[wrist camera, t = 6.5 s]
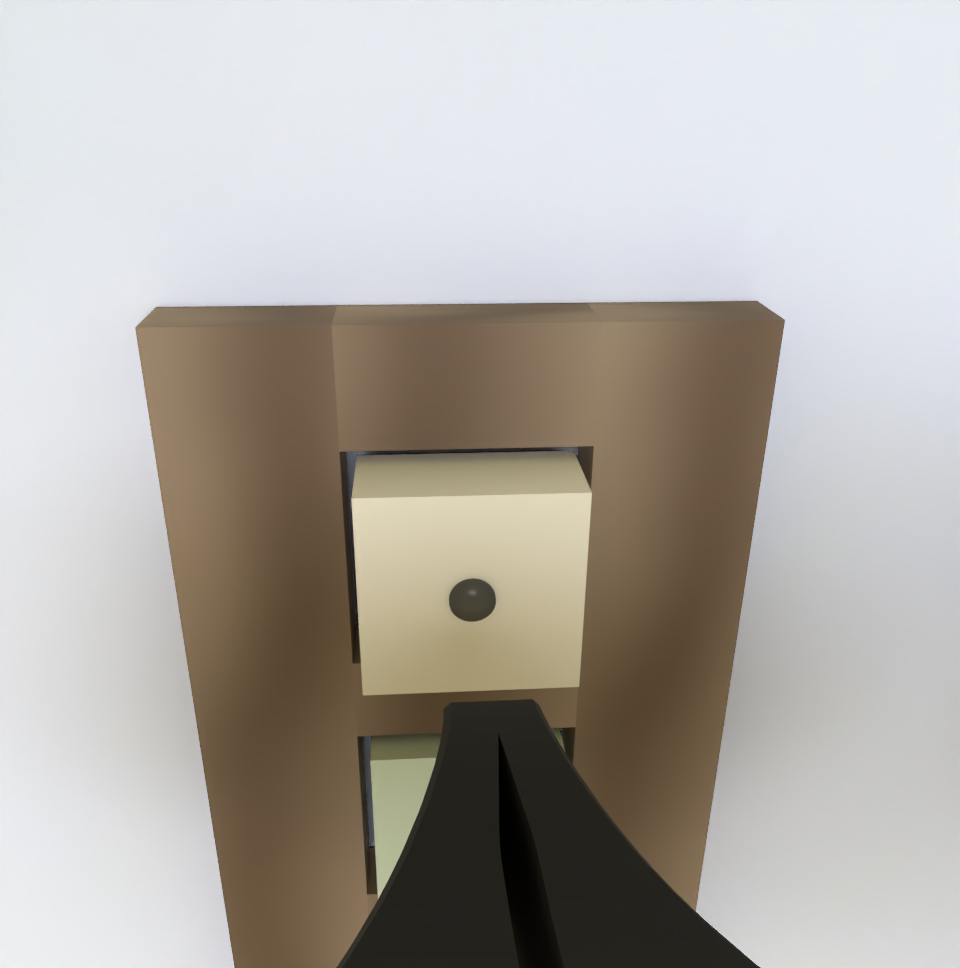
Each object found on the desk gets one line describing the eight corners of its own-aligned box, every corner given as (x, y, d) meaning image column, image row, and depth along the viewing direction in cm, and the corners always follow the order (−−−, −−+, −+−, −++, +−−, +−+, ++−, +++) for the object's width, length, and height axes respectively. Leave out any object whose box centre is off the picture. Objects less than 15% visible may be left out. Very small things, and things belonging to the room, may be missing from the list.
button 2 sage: (552, 696, 22) (565, 755, 20) (545, 829, 24) (557, 895, 22) (373, 703, 22) (370, 764, 20) (380, 837, 24) (378, 905, 22)
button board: (756, 301, 19) (784, 320, 17) (653, 1056, 29) (665, 1106, 27) (156, 307, 18) (135, 327, 16) (267, 1082, 28) (260, 1135, 26)
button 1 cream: (573, 450, 19) (593, 495, 17) (563, 631, 20) (580, 690, 18) (356, 455, 18) (350, 501, 16) (366, 638, 20) (362, 699, 18)
